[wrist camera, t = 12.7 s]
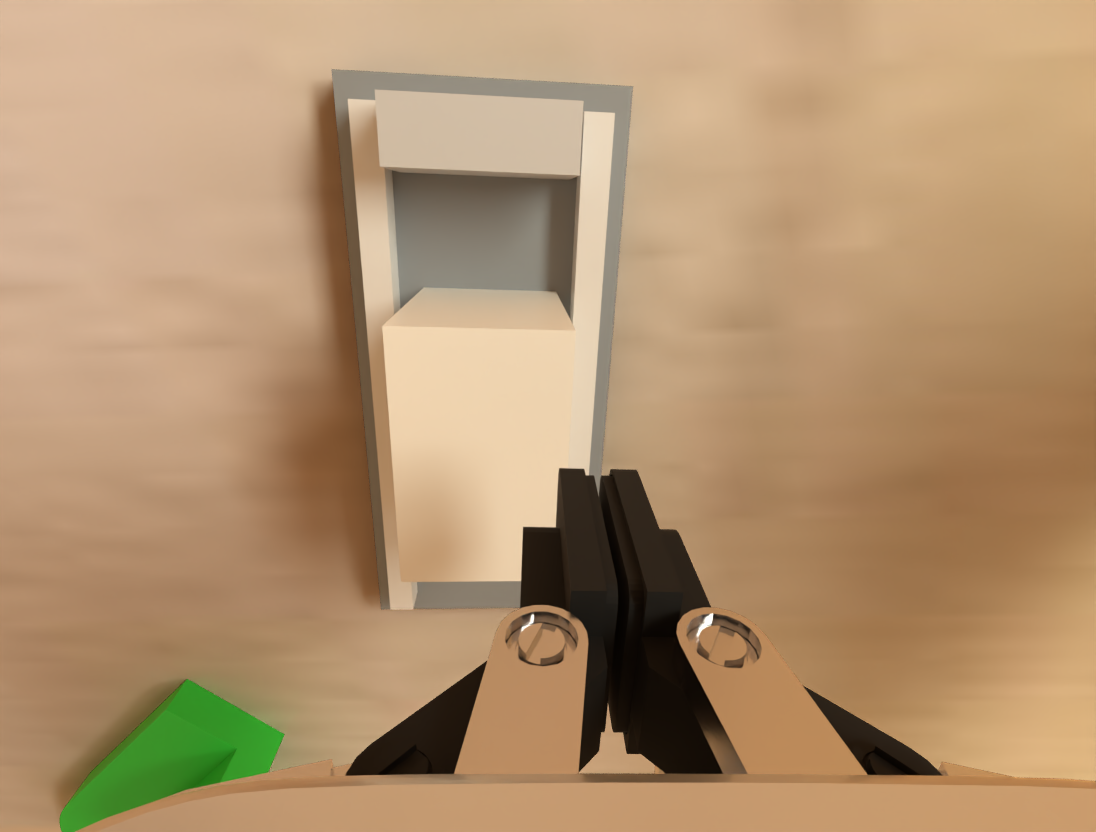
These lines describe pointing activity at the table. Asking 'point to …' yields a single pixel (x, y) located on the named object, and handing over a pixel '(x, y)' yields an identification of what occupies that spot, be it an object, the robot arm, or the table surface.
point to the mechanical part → (174, 756)
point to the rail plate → (479, 242)
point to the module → (476, 427)
